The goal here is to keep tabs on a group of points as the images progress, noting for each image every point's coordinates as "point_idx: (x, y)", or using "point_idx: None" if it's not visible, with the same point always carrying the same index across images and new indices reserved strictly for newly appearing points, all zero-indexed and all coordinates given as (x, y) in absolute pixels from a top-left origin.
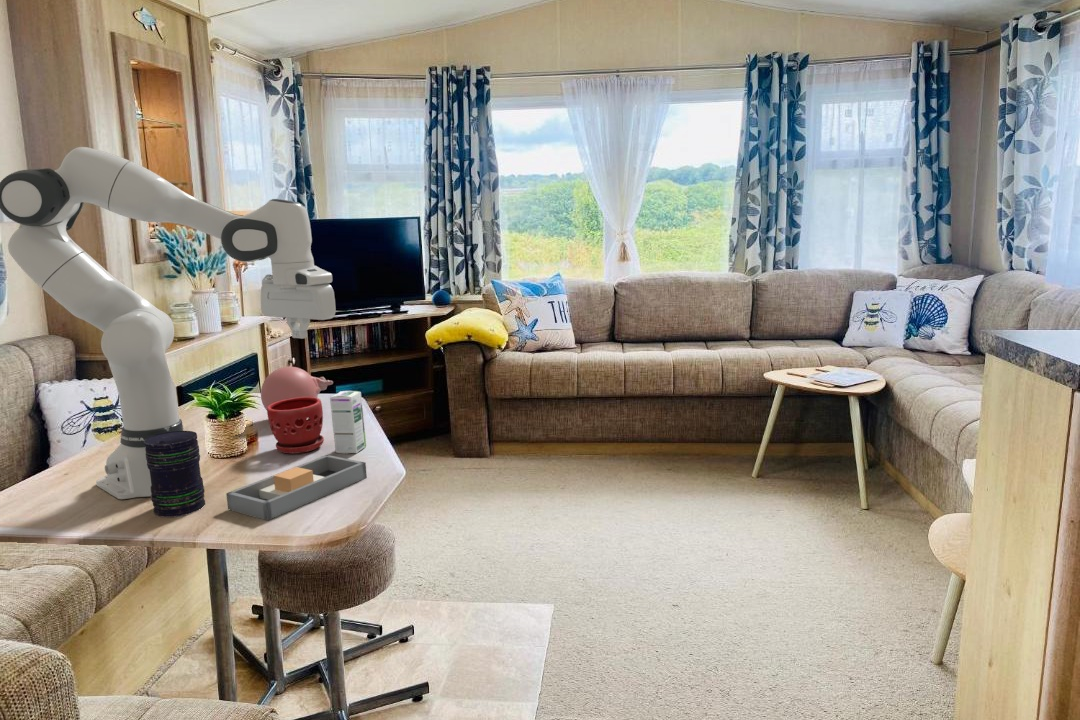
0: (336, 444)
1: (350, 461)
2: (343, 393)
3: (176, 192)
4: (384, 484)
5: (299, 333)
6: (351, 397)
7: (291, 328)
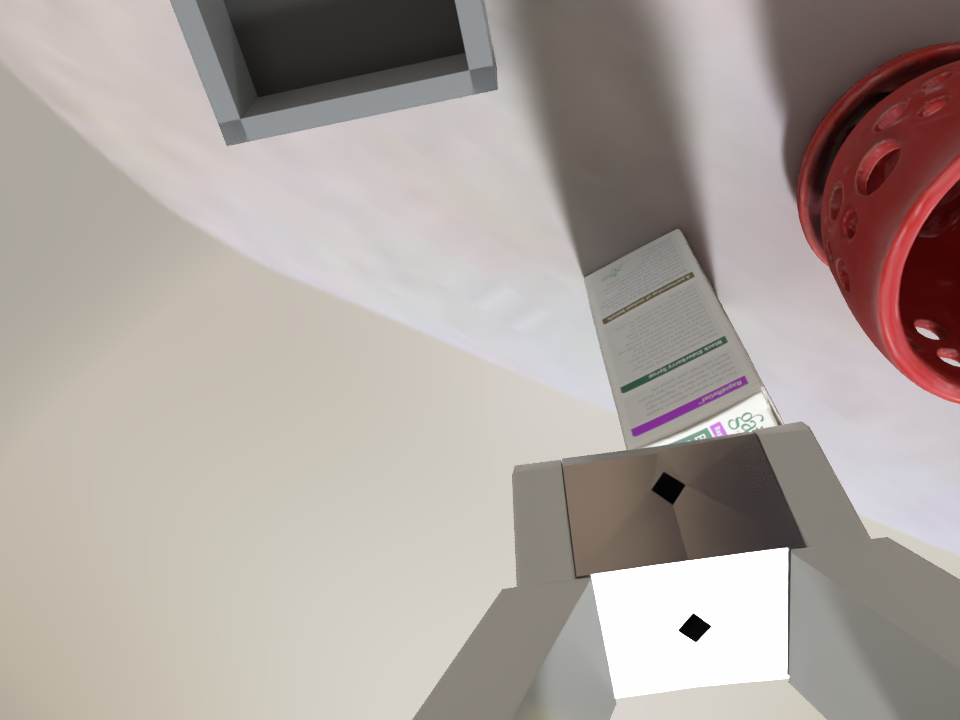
0: (679, 249)
1: (298, 106)
2: None
3: None
4: (104, 119)
5: (560, 527)
6: None
7: (877, 574)
